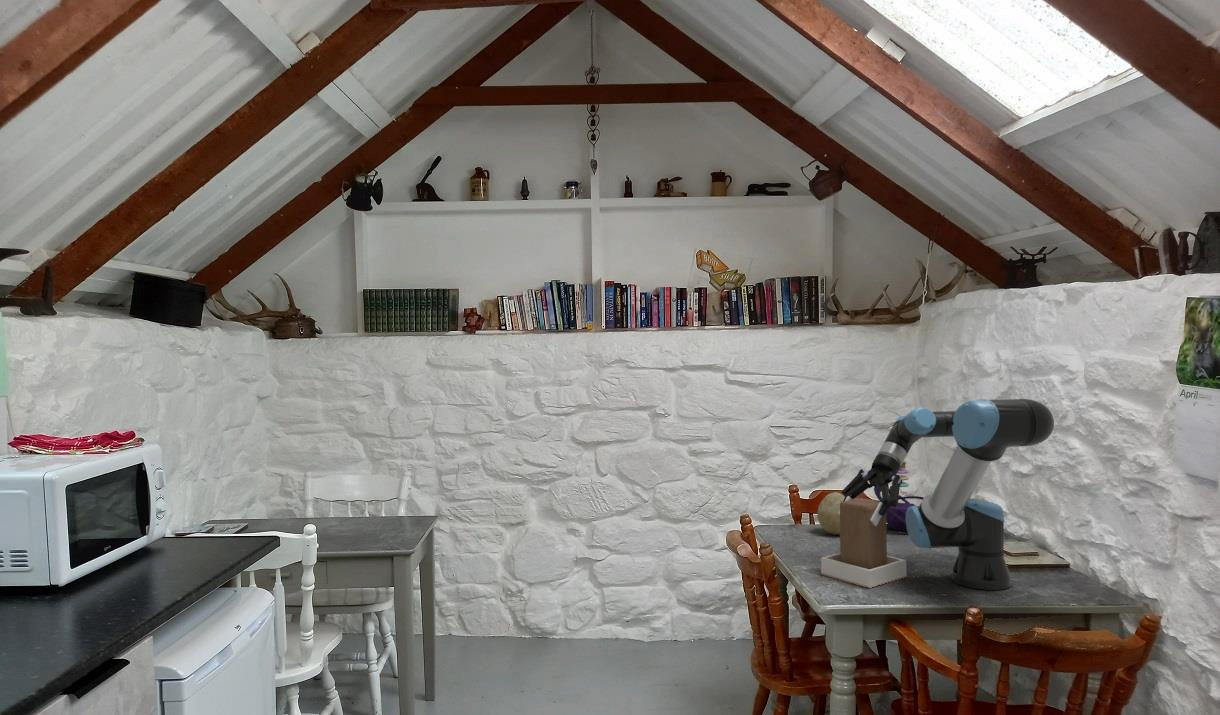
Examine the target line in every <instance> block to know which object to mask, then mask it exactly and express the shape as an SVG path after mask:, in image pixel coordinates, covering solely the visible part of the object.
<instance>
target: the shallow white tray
mask: <svg viewBox="0 0 1220 715" xmlns="http://www.w3.org/2000/svg"><path fill="white" fill-rule="evenodd" d="M820 561H821V562H820V564H821V566H820V567H821V569H820V572H821V575H822V576H825V577H829V578H833V579H836V580H838V579H839V581H842V582H846V583H850V584H852V583H854V584H853V585H855V584H856V585H855V586H859V585H860V586H859V587H862V586H863V587H862V588H865V587H868V588H867V589H869V588H872V587H875V586H878V585H881V586H883V585H882V584H884V585H886V584H885V583H887V584H889V583H888V582H890V583H892V582H891V581H893V582H896V581H895V580H897V579H900V580H902V579H901V578H903V579H905V578H904V577H906V578H907V560H906V559H903V558H900V557H899V558H898V557H895V556H892V555H887V564H886V565H883V566H880V567H876V568H873V569H870V570H869V569H865V568H861V567H858V566H854V565H850V564H847V563H843V562H840V552H838V553H834V554H830V555H826V556H823V557H821V558H820ZM897 581H898V580H897ZM878 587H879V586H878ZM875 588H876V587H875ZM872 589H873V588H872Z"/></svg>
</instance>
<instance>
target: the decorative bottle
mask: <svg viewBox="0 0 1220 715" xmlns="http://www.w3.org/2000/svg"><path fill="white" fill-rule="evenodd" d="M906 464H907V462H906V460H904V461H903V463H902V465H901V466H900V469H899V471H898V473H897V475H899V476H900V477H901V479H902V480H903V482H902V483H901V485H900V488H906V487H907V488H908V487H909V484H908V482H905V481H908V480H909V479H910V478H909V477H908V476H907V475H906V474H909V473H910V471H909V470H908V469H906ZM904 474H905V475H904ZM873 492H874V494H875V496H876V498H877V500H878V501H883V499H882V491H881V488H880V487H878V486H877V487H874V486H873ZM890 493H891V488H889V494H890ZM924 497H925V496H924ZM924 497H923V496H917V495H916V496H915V495H914V496H913V495H912V496H911V495H907V496H901V495H900V494H899V495H898V501H899V500H901V501H902V502H897V506H896V507H893V506H891V507H889V508H888V509H887V511H886V525H888V526H889V527H890V528H891V529H892V530H894V531H896V532H902V531H901V530H904V531H903V532H908V531H907V527H906V511H907V509H908V508H909V507H911V506H917V505H916V504H915V503H910V502H909V501H908V499H917V500H921V501H922V500H923V499H924Z"/></svg>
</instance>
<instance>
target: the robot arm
mask: <svg viewBox="0 0 1220 715" xmlns="http://www.w3.org/2000/svg"><path fill="white" fill-rule="evenodd" d="M1054 427H1055V420H1054V415H1053V413H1052V412H1051V410H1050V409H1049V408H1048V407H1047V406H1046V405H1045V404H1043V403H1041V402H1039V401H1037V400H1034V399H1028V398H1017V399H1014V398H1013V399H986V398H981V399H980V398H979V399H976V400H967V401H965V402H963V403H962V404H961V405H959V406H958V408H957V409H956V410H951V411H949V410H947V411H946V410H945V411H932V410H930V409H928V408H926V407H923V406H921V407H920V406H919V407H916V408H914V409H912V410H911V411H909V412H908V413H907V414H906V415H901V416H899V417H897V419H896V420H895V421H894V423H893V424H892V427H891V429H890V431H889V433H888V434H887V436H886V438H885V440H884V442H883V443H882V445H881V447H880V449H879V450H878V452H877V455H876V456H875V458H874V459H873V462H872V463H871V468H870V469H869V470H868V471H864V470H863V469H859V471H858V473H857V475H855V477H854V478H853V479H852V480H851V481H850V482H849V483H848V484H847V485H846V486H845V487H844V488H843V489H842V490H841V494H842V495H844V496H845V498H844V500H843V501H847V500H851V499H855V498H858V497H859V496H860V495H861V494H863V493H864V492H865V491H867V490H868V489H872V488H874V487H877V486H878V487H880V488H881V497H882V499H883V501H882V502H883V503H882V502H879V504H878V506H877V508H876V510H875V512H874V513H873V515H872V517H871V519H870V521H871V522H872V524H873V525H874V526H877V524H878V522H879V520H880V518H881V517H882V516H884V515H885V513H886V511H887V509H888V508H889V507H891V506H893V507H896V506H897V503H898V501H899V500H898V495H900V490H901V489H900V488H901V487H900V485H901V483H902V482H904V480H902V479H901V477H900V476H899V475H900V474H898V471H899V469H900V466H901V465H902V463H903V461H905V459H906V457H907V456H908V453H909V452H910V450H911V448H912V446H913V445H914V444H915V443H916V442H918V441H919V440H921V439H923V438H940V437H941V438H943V437H950V438H951V437H953V438H954V440H955V443H956V445H957V446H956V448H955V449H954V452H953V454H952V456H951V458H950V459H949V462H948V464H947V465H946V468H945V469H944V470H943V473H942V474H941V477H940V478H939V480H938V482H937V484H936V486H935V488H934V489H933V490H934V491H932V493H929V494H927V495H925V496H924V499H923V500H921V502H920V504H919V505H918V506H917V505H916V506H911V507H909V508H908V509H907V511H906V527H907V531H906V532H907V534H908V537H909V539H910V541H911V543H912V544H913V545H914V546H916V547H918V548H919V549H936V548H937V549H940V548H957V547H958V554H957V557H956V559H955V562H954V565H953V568H952V571H951V579H952V581H953V582H955V584H958V585H960V586H962V587H965V588H966V587H967V588H971V589H974V590H975V589H976V590H987V591H1001V590H1005V589H1009V588H1010V587H1012V576H1011V573H1010V571H1009V568H1008V565H1007V563H1006V558H1005V554H1004V553H1005V547H1004V546H1005V545H1004V544H1005V542H1004V541H1005V538H1004V537H1005V531H1004V530H1005V529H1004V528H1005V527H1004V526H1005V525H1004V524H1005V517H1004V516H1005V515H1004V509H1003V507H1002V506H1001V505H999V504H998V503H996V502H990V501H987V500H981V499H976V498H971V497H972V495H973V493H974V492H975V490H976V488H977V486H978V485H979V484H980V482H981V480H982V479H983V476H984V475H985V473H986V471H987V470H988V467H989V466H990V464H991V463H993V462H996V461H999V460H1001V458H1002V457H1003V455H1004V453H1005V452H1006V451H1007V449H1008V448H1010V447H1013V448H1014V447H1018V448H1019V447H1029V446H1035V445H1038V444H1041V443H1042V442H1044V441H1046V440H1047V439H1048V438H1049V437H1050V436H1051V435H1052V433H1053V431H1054ZM890 483H891V486H890V488H889V484H890ZM889 489H890V490H891V493H889ZM838 514H839V515H840V511H839V512H838Z"/></svg>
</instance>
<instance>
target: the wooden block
mask: <svg viewBox="0 0 1220 715" xmlns="http://www.w3.org/2000/svg"><path fill="white" fill-rule="evenodd" d="M879 502H882V501H879V500H875V499H870V498H862V497H856V498H854V499H851V500H847V501H843V502H841V503H840V535H839V547H840V548H839V549H840V550H839V553H840V562H843V563H847V564H850V565H854V566H858V567H861V568H865V569H869V570H870V569H873V568H876V567H880V566H883V565H886V564H887V556H888V552H887V548H888V546H887V545H888V543H887V542H888V541H887V540H888V539H887V538H888V536H887V535H888V534H887V530H888V529H887V523H886V513H885V515H884V516H882V517H881V518H880V520H879V522H878V524H877V526H874V525H873V524H872V522H871V521H870V519H871V517H872V515H873V513H874V512H875V510H876V508H877V506H878V504H879ZM882 503H883V502H882Z"/></svg>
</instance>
